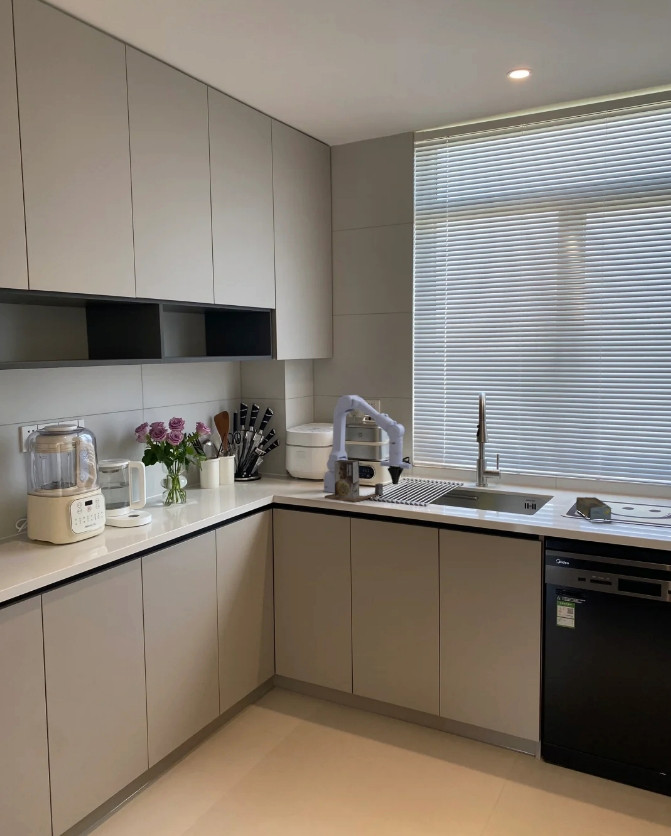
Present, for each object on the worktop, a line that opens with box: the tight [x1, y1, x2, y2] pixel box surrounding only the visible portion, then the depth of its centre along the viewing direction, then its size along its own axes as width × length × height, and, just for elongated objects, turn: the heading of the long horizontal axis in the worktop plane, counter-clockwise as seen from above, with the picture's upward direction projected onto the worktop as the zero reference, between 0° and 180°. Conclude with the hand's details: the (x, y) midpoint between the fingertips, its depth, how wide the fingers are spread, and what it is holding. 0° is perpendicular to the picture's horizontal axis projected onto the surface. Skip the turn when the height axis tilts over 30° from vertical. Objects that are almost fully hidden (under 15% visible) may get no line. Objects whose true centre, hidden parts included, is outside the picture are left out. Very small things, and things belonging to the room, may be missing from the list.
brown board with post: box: [324, 482, 384, 503], centre depth 302 cm, size 16×21×5 cm
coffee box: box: [334, 459, 360, 498], centre depth 298 cm, size 9×6×16 cm
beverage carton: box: [575, 496, 612, 521], centre depth 267 cm, size 8×19×7 cm, turn 176°
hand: (395, 484), depth 299 cm, fingers closed
